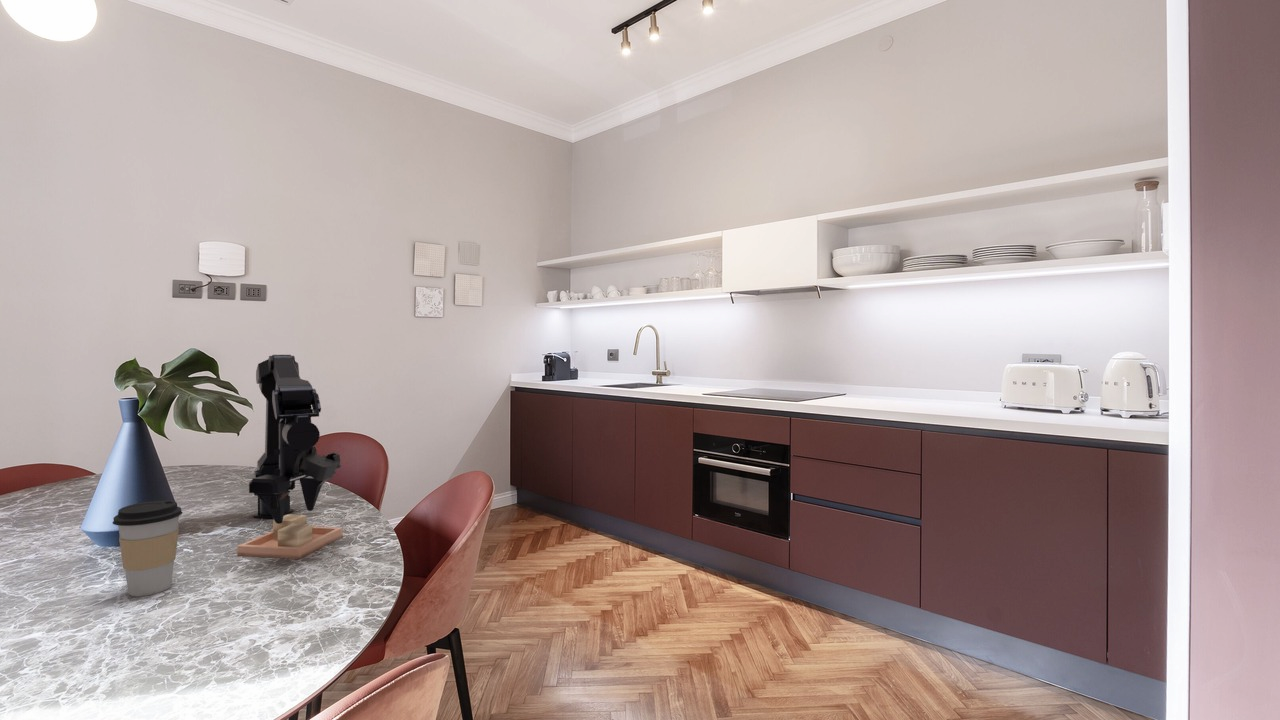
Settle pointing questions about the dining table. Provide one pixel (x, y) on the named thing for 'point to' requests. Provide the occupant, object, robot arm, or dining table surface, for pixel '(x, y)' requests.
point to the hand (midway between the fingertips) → (295, 516)
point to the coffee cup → (148, 545)
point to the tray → (270, 548)
